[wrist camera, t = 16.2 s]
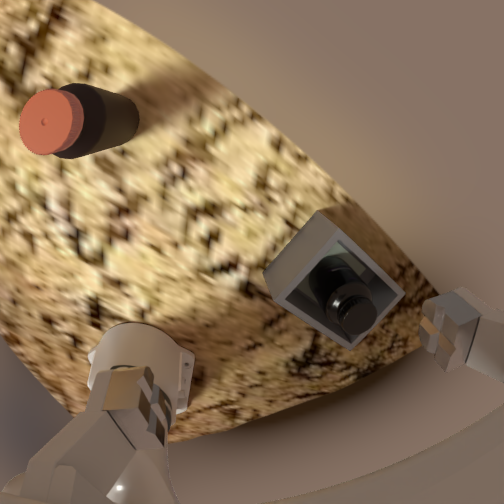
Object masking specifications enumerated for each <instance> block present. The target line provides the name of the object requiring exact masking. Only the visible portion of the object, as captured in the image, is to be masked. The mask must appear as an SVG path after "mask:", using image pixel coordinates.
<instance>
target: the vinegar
mask: <svg viewBox="0 0 504 504" xmlns="http://www.w3.org/2000/svg"><path fill="white" fill-rule="evenodd" d="M23 108H24V109H23V110H22V114H21V115H20V116H21V117H20V121H19V122H20V123H19V130H20V132H19V133H20V136H21V137H20V138H22V139H21V140H22V141H23V143H24V144H25V146H26V147H27V148H28V150H30V151H32V153H33V152H34V154H35V153H36V154H38V155H40V154H41V155H49V154H54V155H55V156H57V157H59V158H65V159H74V158H78V157H82V156H85V155H89V154H92V153H95V152H99V151H102V150H105V149H109V148H112V147H116V146H120V145H122V144H124V143H126V142H127V141H129V140H130V139H131V138H132V137H133V136H134V134H135V132H136V130H137V128H138V124H139V112H138V110H137V108H136V105H135V104H134V103H133V102H132V101H131V100H130V99H128V98H126V97H124V96H122V95H119V94H116V93H113V92H110V91H106V90H103V89H100V88H97V87H94V86H90V85H87V84H80V83H72V84H69V85H66V86H63V87H61V88H60V89H58V90H57V89H45V90H43V91H41V92H38V93H36V95H34V96H32V98H30V100H28V103H27V104H26V105H25V107H23Z"/></svg>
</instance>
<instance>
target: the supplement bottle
mask: <svg viewBox="0 0 504 504" xmlns="http://www.w3.org/2000/svg"><path fill="white" fill-rule="evenodd" d="M309 286H310V289H311V291H312V293H313V294H314V296H315V298H316V300H317V301H318V303H319V305H320V306H321V308H322V310H323V312H324V313H325V315H326V317H327V318H328V319H329V321H330V322H332V323H333V324H335V325H338V326H341V327H342V328H343V330H344V331H345V332H346V333H348V334H351V335H359V334H362V333H365V332H366V331H368V330H369V329H370V328H371V327H372V326H373V324H374V323H375V321H376V319H377V309H376V307H375V306H374V305H373V303H372V301H373V297H372V292H371V290H370V288H369V287H368V285H367V284H366V283H365V282H364V281H363V280H362V279H361V277H360V276H359V275H358V274H357V273H356V272H355V271H354V270H353V269H352V268H351V266H350V265H349V264H348V263H347V262H346V261H344V260H343V259H341V258H339V257H327V258H324V259H322V260H320V261H319V262H318V263H317V264H316V266H315V267H314V268H313V269H312V270H311V272H310V274H309Z"/></svg>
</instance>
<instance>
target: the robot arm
mask: <svg viewBox="0 0 504 504" xmlns="http://www.w3.org/2000/svg"><path fill="white" fill-rule="evenodd" d="M422 313H423V315H424V318H423V319H422V321H421V322H420V325H419V337H420V341H421V343H422V345H423V347H424V348H425V349H426V350H427V351H428V352H431V353H434V354H435V357H434V358H435V361H436V362H437V363H438V365H439V366H440V367H441V368H442V369H443V371H444V372H445V373H446V372H448V371H451V370H453V369H455V368H457V367H460V366H462V365H464V364H466V365H467V366H469V367H471V368H473V369H475V370H477V371H479V372H481V373H483V374H486V375H488V376H490V377H492V378H494V379H496V380H498V381H500V382H503V383H504V311H503V310H499V309H496V310H493V309H492V308H491V307H489V306H488V305H487V304H486V303H484V302H483V301H482V300H481V299H479V298H478V297H477V296H475V295H474V294H473V293H472V292H470V291H469V290H468V289H466V288H464V287H459V288H456V289H454V290H451V291H449V292H447V293H444V294H442V295H439V296H436V297H433V298H431V299H428V300H425V302H424V304H423V306H422ZM88 359H89V361H90V363H91V369H90V374H89V378H88V387H89V388H90V390H91V393H90V396H89V399H88V403H87V406H86V409H85V412H80V413H79V414H78V415H77V416H76V417H75V418H74V419H73V420H71V422H69V423H68V424H67V425H66V426H65V427H64V428H63V429H62V430H61V431H60V432H59V433H58V434H57V435H56V436H55V437H54V438H52V440H50V441H49V442H48V443H47V444H46V445H45V446H44V447H43V448H42V449H41V450H40V451H39V452H38V453H36V455H34V456H33V457H32V458H31V459H30V460H29V464H28V467H27V470H26V472H24V473H21V474H19V475H17V476H16V477H14V478H13V479H12V480H10V481H9V482H8V483H7V484H6V486H5V487H4V489H3V491H0V504H180V503H179V501H178V498H177V496H176V493H175V491H174V488H173V486H172V483H171V479H170V475H169V469H168V454H167V452H168V451H167V435H168V431H169V429H170V426H171V425H173V424H174V423H175V421H176V414H179V413H182V412H184V411H186V410H187V403H188V397H189V391H190V385H191V379H192V373H193V367H194V361H195V355H194V354H193V353H192V352H191V351H189V350H187V349H185V348H182V347H180V346H179V345H178V344H176V343H175V342H174V340H173V339H172V338H170V337H169V336H168V335H167V334H165V333H164V332H162V331H161V330H159V329H157V328H155V327H152V326H149V325H145V324H140V323H125V324H120V325H117V326H115V327H113V328H111V329H109V330H108V331H107V332H106V333H105V334H104V335H103V337H102V338H101V340H100V342H99V344H98V345H97V346H96V347H94V348H92V349H91V350H90V351H89V353H88ZM186 363H188V364H186ZM260 504H504V404H502V405H501V406H499V407H498V408H496V409H495V410H493V411H492V412H490V413H489V414H487V415H486V416H484V417H483V418H481V419H479V420H478V421H476V422H475V423H473V424H471V425H470V426H468V427H466V428H465V429H463V430H461V431H460V432H458V433H456V434H454V435H452V436H450V437H449V438H447V439H445V440H443V441H441V442H439V443H437V444H435V445H433V446H431V447H430V448H427V449H425V450H424V451H421V452H419V453H418V454H415V455H413V456H411V457H408V458H406V459H404V460H402V461H399V462H397V463H395V464H392V465H390V466H388V467H385V468H383V469H380V470H377V471H375V472H372V473H370V474H367V475H365V476H361V477H359V478H356V479H353V480H350V481H347V482H344V483H341V484H337V485H334V486H331V487H328V488H325V489H321V490H317V491H314V492H310V493H306V494H302V495H298V496H294V497H290V498H285V499H280V500H275V501H270V502H265V503H260Z"/></svg>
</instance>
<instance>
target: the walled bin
mask: <svg viewBox="0 0 504 504" xmlns="http://www.w3.org/2000/svg"><path fill="white" fill-rule="evenodd" d="M327 257H339V258H341V259H343V260H344V261H346V262H347V263H348V264H349V265H350V266H351V268H352V269H353V270H354V271H355V272H356V273H357V274H358V275H359V276H360V277H361V279H362V280H363V281H364V282H365V283H366V284H367V285H368V287H369V288H370V290H371V292H372V297H373V301H372V303H373V305H374V306H375V307H376V309H377V319H376V321H375V323H374V324H373V326H372V327H371V328H370V329H369V330H368V331H366V332H365V333H362V334H359V335H351V334H348V333H346V332H345V331H344V330H343V328H342V327H341V326H338V325H335V324H333V323H332V322H330V321H329V319H328V318H327V317H326V315H325V313H324V312H323V310H322V308H321V306H320V305H319V303H318V301H317V300H316V298H315V296H314V294H313V293H312V291H311V289H310V286H309V274H310V272H311V270H312V269H313V268H314V267H315V266H316V264H317V263H318V262H319V261H320V260H322V259H324V258H327ZM263 276H264V278H265V281H266V283H267V286H268V288H269V291H270V293H271V296H272V298H273V301H274V302H276V303H277V304H279V305H280V306H282V307H283V308H285V309H286V310H288V311H289V312H291V313H292V314H294V315H295V316H297V317H298V318H300V319H301V320H303V321H304V322H306V323H308V324H309V325H311V326H312V327H314V328H315V329H317V330H318V331H320V332H321V333H323V334H324V335H326V336H327V337H329V338H331V339H332V340H334V341H335V342H337V343H338V344H340V345H341V346H343V347H345V348H346V349H348V350H349V351H351V350H352V349H353V348H354V347H355V346H356V345H357V344H358V343H359V342H360V341H361V340H362V339H363V338H364V337H365V336H366V335H367V334H368V333H369V332H370V331H371V330H372V329H373V328H374V327H375V326H376V325H377V324H378V323H379V322H380V321H381V320H382V319H383V318H384V317H385V315H386V314H387V313H388V312H389V311H390V310H391V309H392V308H393V307H394V306H395V305H396V304H397V303H398V301H399V300H400V299H401V298H402V297H403V296H404V295H405V294H406V293H405V292H404V291H403V290H402V289H401V288H400V287H399V286H398V285H397V284H396V283H395V282H394V281H393V280H392V279H391V278H390V277H389V276H388V275H387V274H386V273H385V272H384V271H383V270H382V269H381V268H380V267H379V266H378V265H377V264H376V263H375V262H374V261H373V260H372V259H371V258H370V257H369V256H368V255H367V254H366V253H365V252H364V251H363V250H362V249H361V248H360V247H359V246H358V245H357V244H356V243H355V242H354V241H353V240H351V239H350V238H349V237H348V236H347V235H346V234H345V233H344V232H343V231H342V230H341V229H340V228H339V227H337V226H336V225H335V224H334V223H332V222H331V221H330V220H329V219H328V218H326V217H325V216H324V215H323V214H321V213H320V212H319V211H318V210H317V211H316V212H315V213H314V214H313V216H312V217H311V218H310V219H309V220H308V221H307V223H306V224H305V225H304V226H303V227H302V228H301V229H300V231H299V232H298V233H297V234H296V235H295V236H294V237H293V239H292V240H291V241H290V242H289V243H288V244H287V245H286V247H285V248H284V249H283V250H282V251H281V252H280V253H279V255H278V256H277V257H276V258H275V259H274V260H273V261H272V262H271V264H270V265H269V266H268V267H267V268H266V269H265V270H264V271H263Z"/></svg>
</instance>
